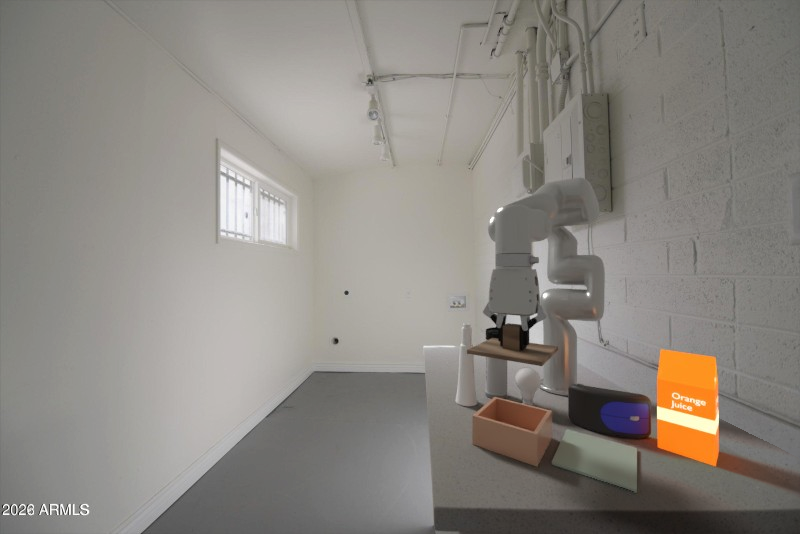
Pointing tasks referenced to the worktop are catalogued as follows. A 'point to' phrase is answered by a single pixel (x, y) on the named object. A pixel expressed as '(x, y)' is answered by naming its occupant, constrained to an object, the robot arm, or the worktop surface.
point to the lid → (514, 348)
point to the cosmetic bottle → (466, 370)
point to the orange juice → (688, 405)
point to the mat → (598, 459)
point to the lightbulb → (527, 384)
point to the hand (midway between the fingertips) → (513, 345)
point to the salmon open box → (513, 429)
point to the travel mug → (495, 372)
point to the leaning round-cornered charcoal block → (610, 411)
